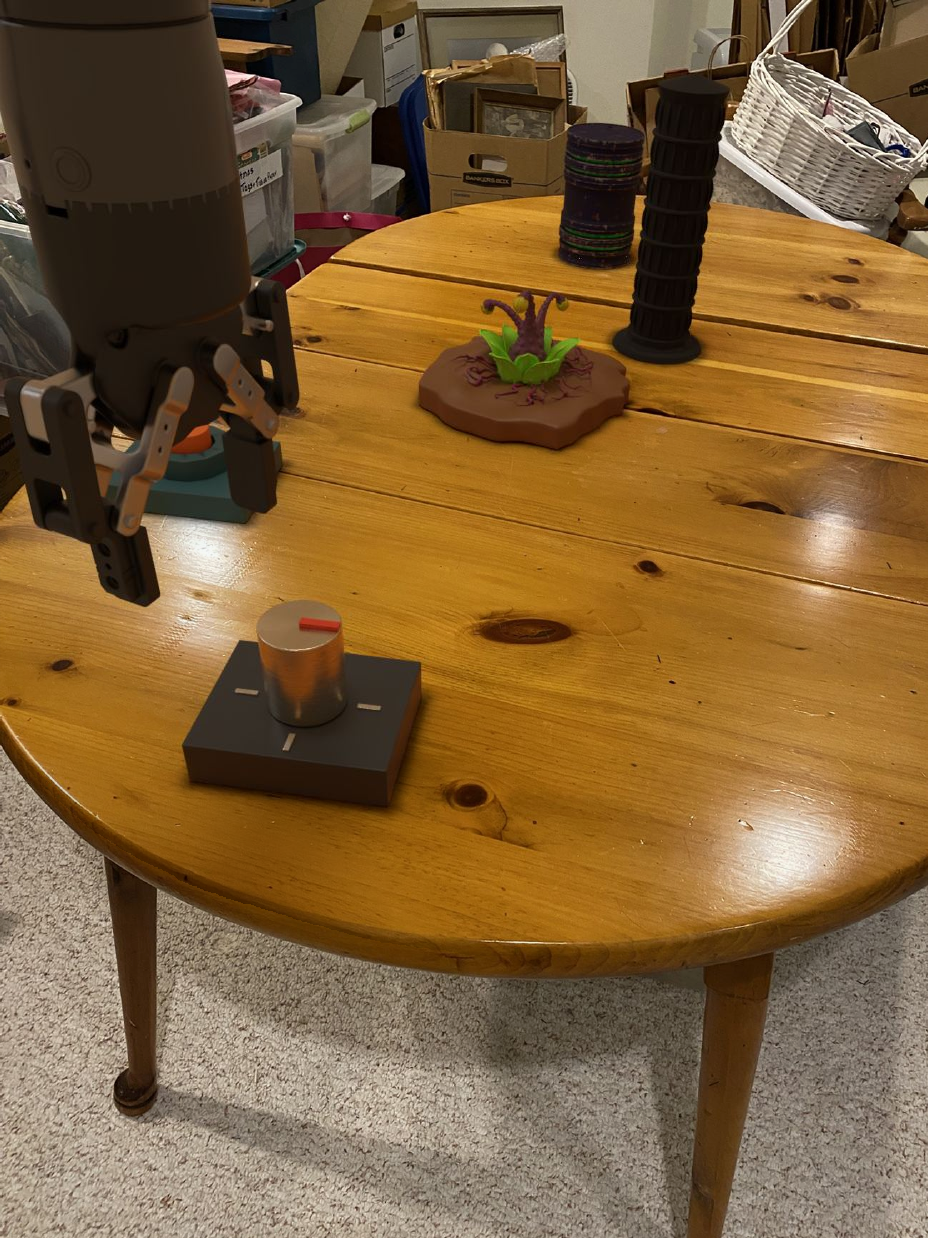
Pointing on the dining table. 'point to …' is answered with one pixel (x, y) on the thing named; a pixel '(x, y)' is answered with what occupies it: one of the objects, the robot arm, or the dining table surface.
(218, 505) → the button block
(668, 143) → the handle grip
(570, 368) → the plant
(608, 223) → the storage jar
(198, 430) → the button
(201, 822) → the dining table surface
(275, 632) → the knob
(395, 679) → the panel
